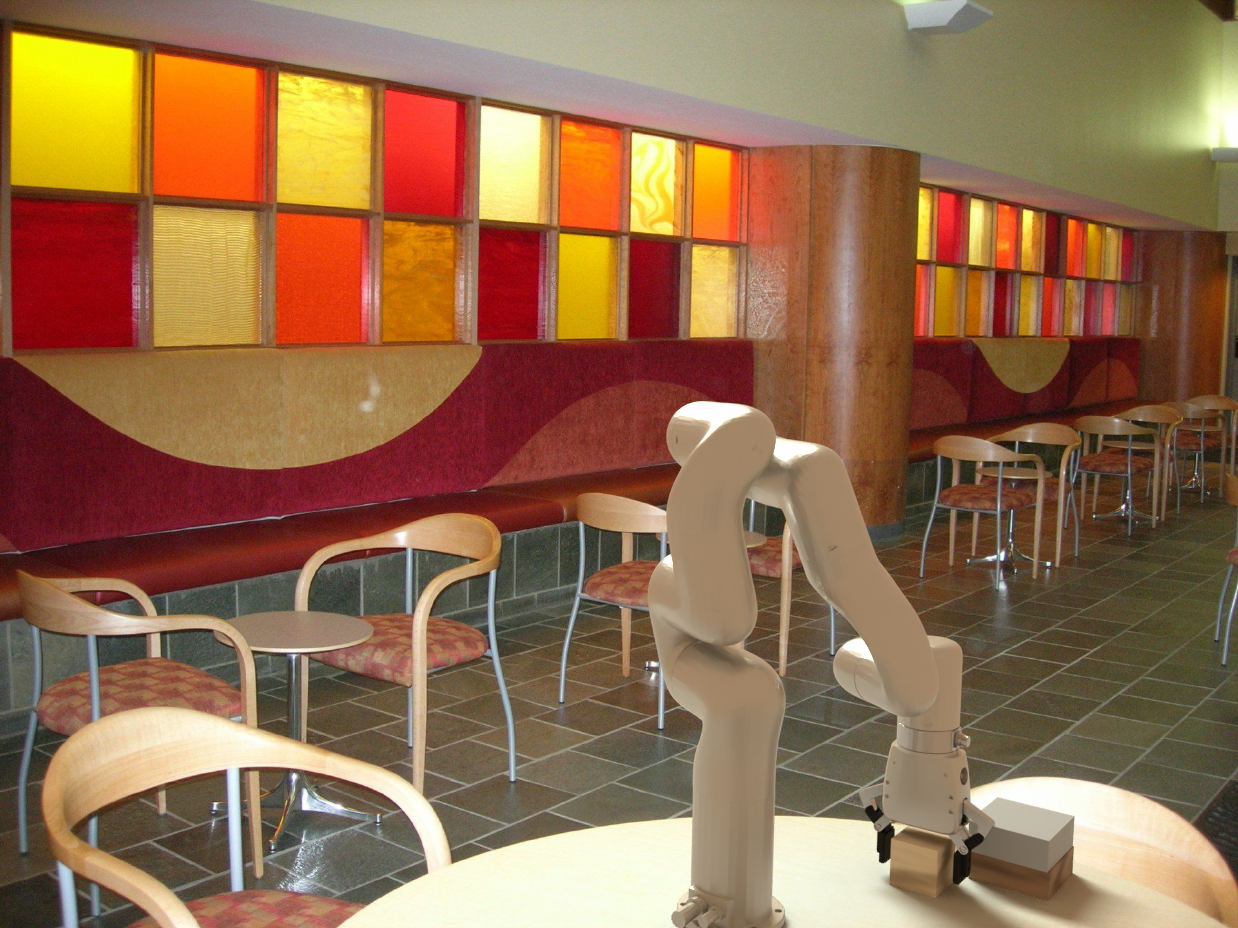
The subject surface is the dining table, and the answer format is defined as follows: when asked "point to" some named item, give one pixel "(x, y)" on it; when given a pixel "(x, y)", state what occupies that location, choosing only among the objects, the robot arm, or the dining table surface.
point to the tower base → (1022, 875)
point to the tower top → (1026, 834)
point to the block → (921, 861)
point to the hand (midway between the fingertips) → (922, 869)
